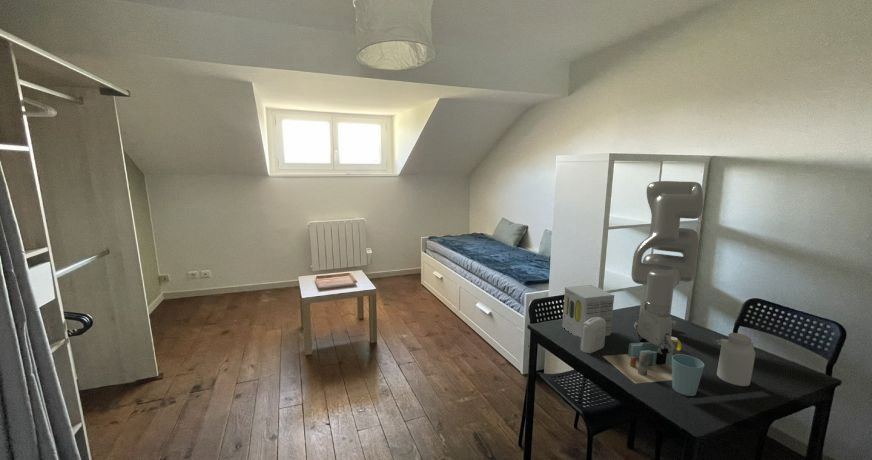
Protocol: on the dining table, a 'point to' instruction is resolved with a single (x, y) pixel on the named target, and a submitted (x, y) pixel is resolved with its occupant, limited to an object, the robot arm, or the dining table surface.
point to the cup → (686, 374)
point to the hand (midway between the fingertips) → (651, 357)
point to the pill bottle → (736, 360)
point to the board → (633, 371)
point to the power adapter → (726, 340)
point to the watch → (677, 342)
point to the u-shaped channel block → (648, 352)
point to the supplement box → (586, 307)
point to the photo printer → (593, 335)
